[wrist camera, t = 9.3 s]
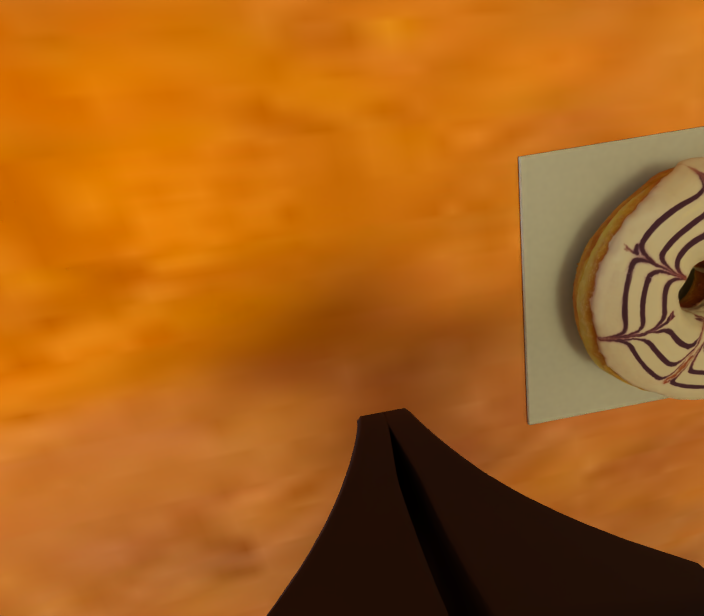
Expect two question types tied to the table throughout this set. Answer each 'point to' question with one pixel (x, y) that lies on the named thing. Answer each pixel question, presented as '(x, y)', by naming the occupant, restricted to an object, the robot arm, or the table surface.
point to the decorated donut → (648, 286)
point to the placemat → (565, 252)
